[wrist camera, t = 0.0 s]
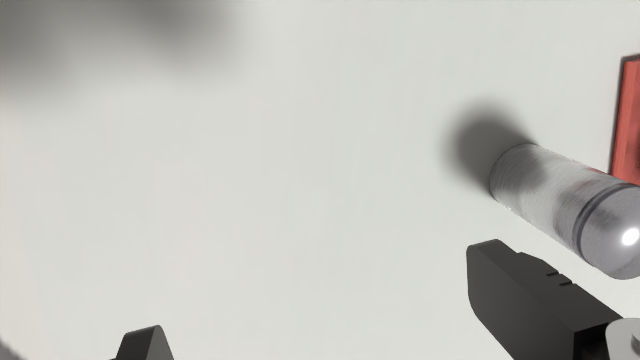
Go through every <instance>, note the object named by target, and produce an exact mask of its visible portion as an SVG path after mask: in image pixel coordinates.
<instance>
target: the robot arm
mask: <svg viewBox="0 0 640 360" xmlns="http://www.w3.org/2000/svg"><path fill="white" fill-rule="evenodd" d="M466 257H467V279H468V296H469V301H470V304H471V307H472V309H473V311H474V313H475V315H476V316H477V318H478V319H479V320H480V321H481V322H482V324H483V325H484V326H485V327H486V328H487V329H488V330H489V332H490V333H491V334H492V335H493V336H494V337H495V338H496V340H497V341H498V342H499V343H500V344H501V345H502V346H503V348H504V349H505V350H506V351H507V352H508V353H509V354H510V356H511V357H512V358H513V359H514V360H640V318H623V317H622V316H620V315H619V314H617V313H616V312H615V311H613V310H612V309H610V308H609V307H608V306H606V305H605V304H603V303H602V302H601V301H599V300H598V299H596V298H595V297H594V296H592V295H591V294H589V293H588V292H587V291H585V290H584V289H582V288H581V287H580V286H578V285H577V284H573V283H572V281H571V280H570V279H568V278H567V277H566V276H564V275H563V274H559V272H558V271H557V270H556V269H555V268H553V267H552V266H550V265H549V264H548V263H546V262H545V261H543V260H541V259H539V258H536V257H534V256H531V255H528V254H526V253H523V252H520V253H516V252H515V251H514V250H512V249H511V248H510V247H508V246H507V245H506V244H504V243H503V242H502V241H500V240H498V239H493V240H489V241H485V242H482V243H478V244H474V245H470V246H468V248H467V252H466ZM111 360H174V358H173V356H172V353H171V350H170V347H169V345H168V342H167V339H166V337H165V334H164V331H163V329H162V328H161V326H160V325H155V326H152V327H148V328H144V329H140V330H136V331H132V332H128V333H126V334H125V335H124V337H123V339H122V342H121V345H120V348H119V350H118V353H117V356H116V358H114V359H111Z"/></svg>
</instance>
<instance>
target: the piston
mask: <svg viewBox="0 0 640 360" xmlns="http://www.w3.org/2000/svg"><path fill="white" fill-rule="evenodd" d="M489 184H490V191H491V193H492V195H493V197H494V198H495V200H496V201H498V202H499V203H500V204H502V205H503V206H505V207H506V208H508V209H509V210H511V211H512V212H514V213H515V214H517V215H518V216H520V217H521V218H523V219H524V220H526V221H527V222H529V223H530V224H532V225H533V226H535V227H536V228H538V229H539V230H541V231H542V232H544V233H545V234H547V235H548V236H550V237H551V238H553V239H554V240H556V241H557V242H559V243H560V244H562V245H563V246H565V247H566V248H568V249H569V250H571V251H572V252H574V253H575V254H577V255H578V256H579V257H580V258H581V259H582V260H584V261H585V262H587V263H588V264H590V265H592V266H594V267H596V268H598V269H599V270H600V271H602V272H603V273H605V274H606V275H608V276H610V277H612V278H614V279H620V280H625V279H632V278H635V277H638V276H640V186H639V185H637V184H633V183H629V182H627V181H624V180H622V179H619V178H617V177H614V176H612V175H609V174H607V173H604V172H602V171H599V170H597V169H594V168H592V167H589V166H587V165H584V164H582V163H579V162H577V161H574V160H572V159H569V158H567V157H564V156H562V155H559V154H557V153H554V152H552V151H549V150H547V149H544V148H542V147H539V146H537V145H534V144H521V145H517V146H515V147H512V148H511V149H509V150H508V151H506V152H505V153H504V154H503V155H502V156H501V157H500V158H499V159H498V160H497V162H496V163H495V165H494V167H493V169H492V172H491V175H490V182H489Z"/></svg>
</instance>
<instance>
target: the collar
mask: <svg viewBox="0 0 640 360" xmlns="http://www.w3.org/2000/svg"><path fill="white" fill-rule="evenodd" d="M611 175H612V176H614V177H617V178H619V179H622V180H624V181H627V182H629V183H633V184H637V185H639V186H640V59H635V60H630V61H625V62H624V71H623V79H622V87H621V96H620V104H619V112H618V121H617V129H616V137H615V145H614V154H613V162H612V170H611Z"/></svg>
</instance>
